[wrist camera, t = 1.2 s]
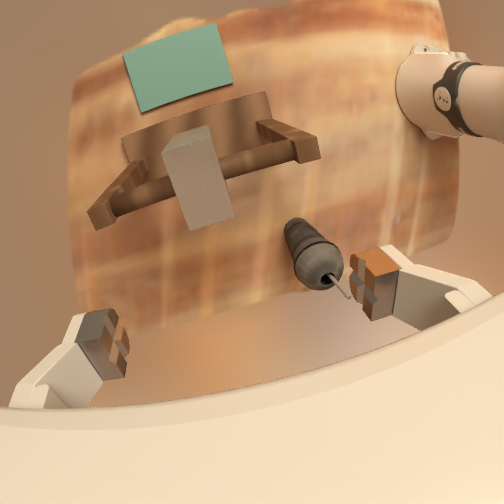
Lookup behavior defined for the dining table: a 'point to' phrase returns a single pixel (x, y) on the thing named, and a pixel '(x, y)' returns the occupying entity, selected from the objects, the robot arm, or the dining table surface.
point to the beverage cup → (314, 256)
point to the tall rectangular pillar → (197, 178)
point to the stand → (226, 146)
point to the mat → (177, 66)
